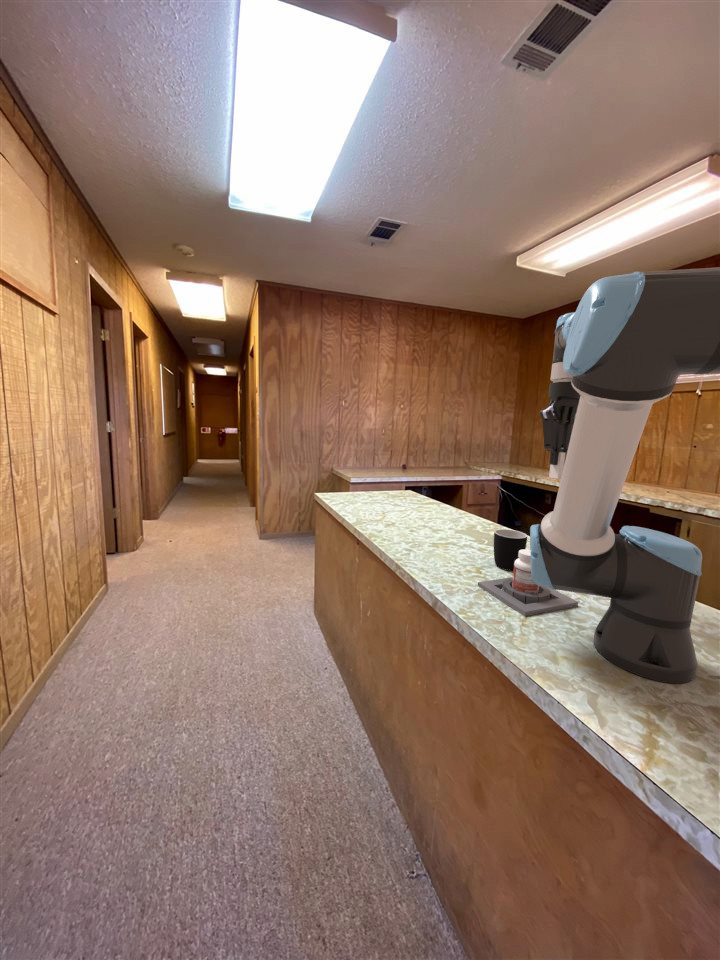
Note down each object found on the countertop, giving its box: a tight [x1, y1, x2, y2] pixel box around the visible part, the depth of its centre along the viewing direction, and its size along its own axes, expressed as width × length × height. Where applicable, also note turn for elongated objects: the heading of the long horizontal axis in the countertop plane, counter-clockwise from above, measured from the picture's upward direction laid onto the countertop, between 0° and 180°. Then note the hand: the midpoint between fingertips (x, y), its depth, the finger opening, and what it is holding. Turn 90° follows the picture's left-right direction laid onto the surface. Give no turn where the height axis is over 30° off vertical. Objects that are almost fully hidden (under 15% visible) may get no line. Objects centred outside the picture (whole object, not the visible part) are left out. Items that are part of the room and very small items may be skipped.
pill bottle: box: [512, 549, 540, 594], centre depth 92 cm, size 6×6×11 cm
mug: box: [493, 528, 528, 571], centre depth 112 cm, size 12×9×10 cm
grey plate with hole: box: [477, 576, 579, 617], centre depth 93 cm, size 16×16×2 cm
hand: (555, 477), depth 96 cm, fingers closed
